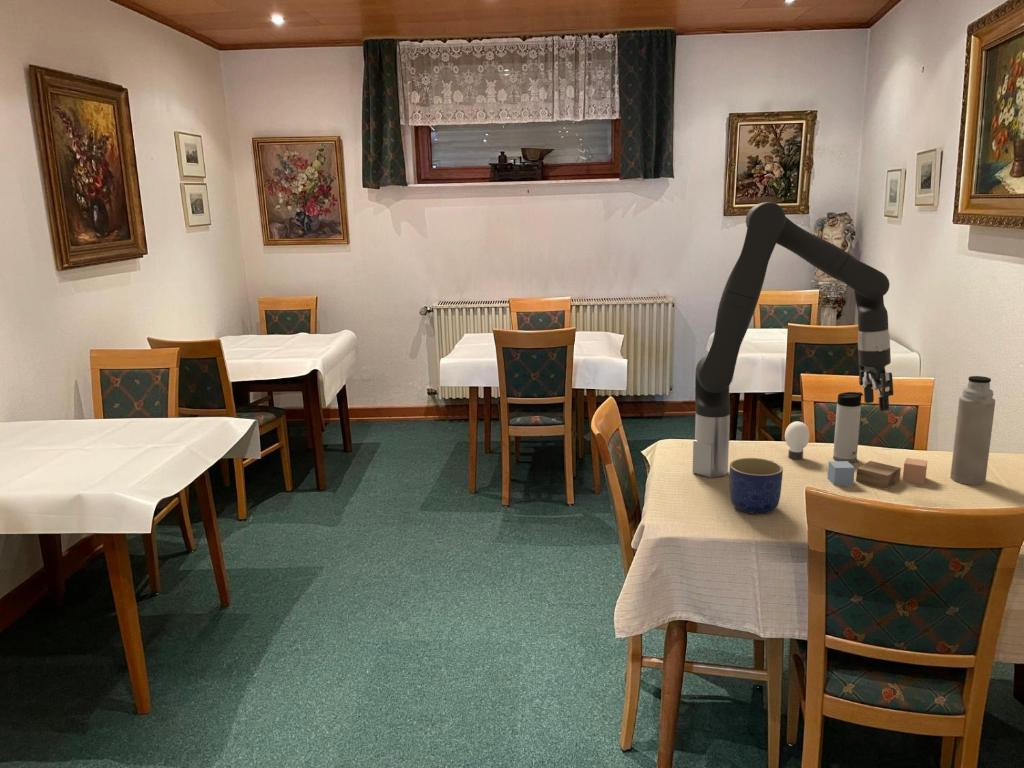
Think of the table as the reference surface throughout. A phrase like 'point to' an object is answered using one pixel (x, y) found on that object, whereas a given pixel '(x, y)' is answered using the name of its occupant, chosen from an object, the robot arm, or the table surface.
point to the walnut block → (878, 474)
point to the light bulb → (796, 439)
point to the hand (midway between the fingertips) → (876, 406)
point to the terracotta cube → (915, 470)
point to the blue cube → (840, 473)
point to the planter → (755, 485)
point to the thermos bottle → (973, 432)
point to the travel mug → (847, 426)
